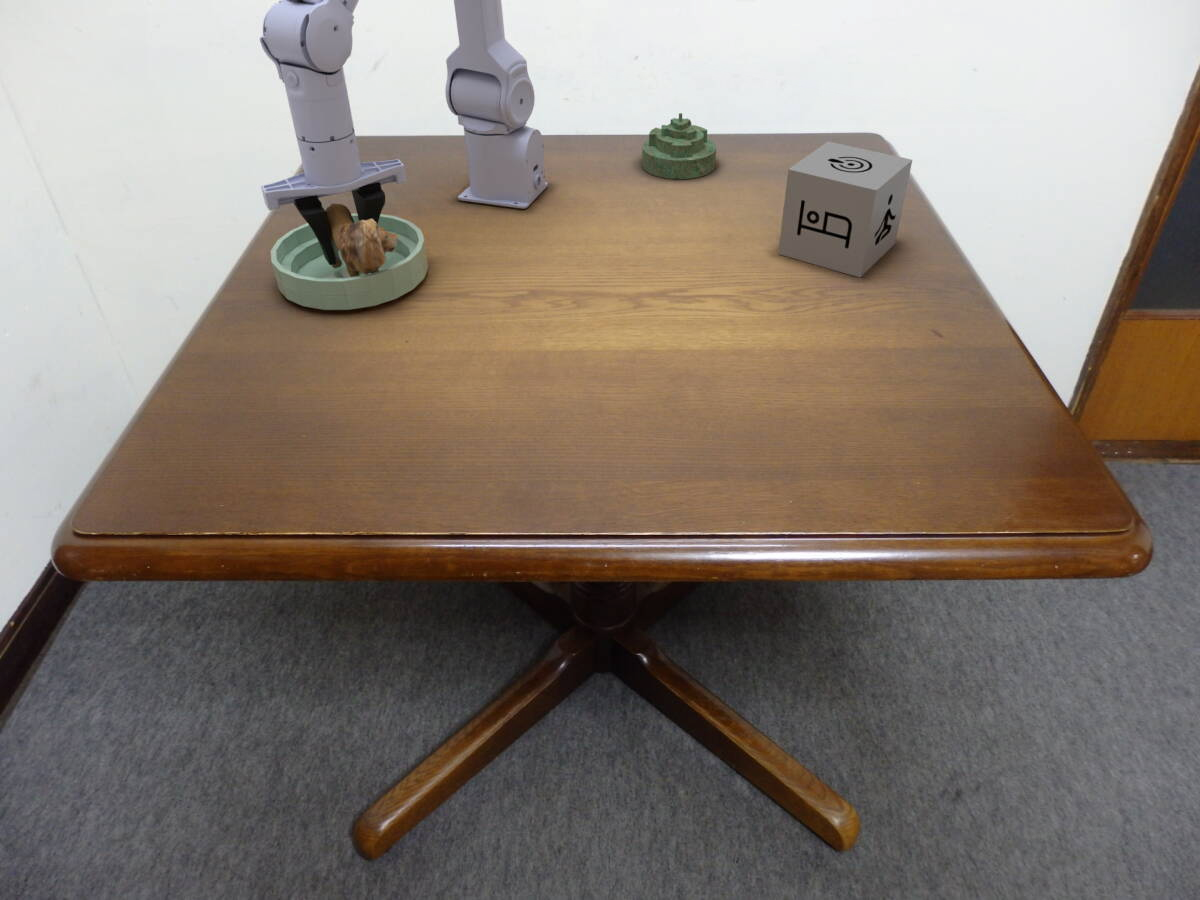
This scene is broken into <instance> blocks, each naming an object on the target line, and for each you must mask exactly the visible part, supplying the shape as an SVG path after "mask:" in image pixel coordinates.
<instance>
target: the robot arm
mask: <svg viewBox="0 0 1200 900" xmlns="http://www.w3.org/2000/svg"><path fill="white" fill-rule="evenodd" d="M359 1H360V0H278V2H274V4H273V5H272V6H270V8H269V10H268V11H267V12H266V14H265V16H264V18H263V22H262V36H260V37H259V42H260V45H261V47H262V50H263V52H264V53H265V55H266V56H267V57H268V58H269V60H271V61H272V62H273V64H274V65H275V68H276V70H277V74H278V78H279V80H281V81H282V83H283V84H284V88H285V92H286V98H287V102H288V107H289V110H290V111H289V112H290V116H291V120H292V124H293V129H294V133H295V137H296V141H297V146H298V151H299V154H300V160H301V164H302V168H303V172H301V173H298V174H295V175H293V176H290V177H287V178H284V179H281V180H278V181H276V182H272V183H268V184H264V185H261V186H260V189H261V193H262V197H263V201H264V204H265V206H266V207H267V209H268V210H269V211H274V210H279V209H280V206H285V205H286V206H287V205H290V204H293V205H294V206H295V208H296V210H297V211H298V213H299V214H300V216H301V217H302V219H304V221H305V222H306V223H308V224H309V226H310V227H311V229H312V230H313V232H314V234H315V235H316V237H317V239H318V241H319V243H320V245H321V248H322V250H323V253H324V256H325V259H326V260H327V262H328V263H329V265H334V264H336V258H335V254H334V251H333V247H332V244H331V240H330V235H329V229H328V222H327V213H326V211H325V210H326V209H324V207H323V203H322V201H321V200H320V198H324V197H329V196H334V195H339V194H343V193H348V192H351V194H352V199H353V203H354V207H355V210H356V213H357V215H358V220H359V221H361V220H368V219H374V221H376V223H377V225H378V221H379V217H380V214H382V212H383V209H384V207H385V205H386V193H385V191H384V189H382V185H389V184H392V183H393V184H394V183H395V184H397V185H399V184H405V183H407V182H408V181H407V173H406V167H405V164H404V163H403V162H402V161H401V160H400V159H399V158H394V159H389V160H380V161H378V160H377V161H363V162H361V158H360V152H359V148H358V143H357V142H358V141H357V137H356V132H355V126H354V120H353V115H352V109H351V104H350V99H349V92H348V87H347V82H346V76H345V70H344V65H345V64H346V62H347V60H348V59H349V58H350V57H351V56H352V50H353V26H354V24H355V21H354V19H355V15H353V14H354V12H355V10H356V7H357V5H358V3H359ZM453 5H454V12H455V20H456V28H457V29H456V30H457V36H458V46H457V47H455V49H454V50H453V51H452V52H451V53H450V54H449V55H448V56H447V58H446V60H445V63H446V71H447V72H446V82H445V88H444V89H445V91H444V92H445V100H446V104H447V107H448V109H449V111H450V112H451V113H452V114H453V115H455V116H456V117H457V122H458V125H460V126H462V127H463V133H464V134H463V135H464V142H465V143H464V145H465V153H466V163H467V170H468V182H469V186H467V188H466V189H464V190H463V191H462V192H461V193H460V194H459V195H458V196H457V199H458V200H459V201H462V202H471V203H476V204H484V205H490V206H491V205H492V206H499V207H506V208H507V207H508V208H514V209H520V210H521V209H523V210H524V209H527V208H529V206H530V205H531V204H532V203H533V202H534V201H535V200H536V199H537V198H538V196H540V194H541V193H542V192H543V191H545V189H546V188H547V187H548V185H549V184H548V182H547V181H546V168H545V149H544V148H545V147H544V139H543V136H542V133H541V130H539V129H537V128H533V127H529V126H527V122H528V120H529V119H530V118H531V115H532V113H533V110H534V107H535V101H536V100H535V96H536V95H535V89H534V86H533V82H532V80H531V78H530V76H529V72H528V63H527V59H526V58H525V57H524V56H523V55H522V54H521V53H520V52H519V51H518V50H517V49H516V48H515V47H513V46H512V44H511V43H509V42H508V40H507V39H506V36H505V35H506V34H505V26H504V14H503V5H502V0H453Z"/></svg>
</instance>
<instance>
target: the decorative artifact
mask: <svg viewBox="0 0 1200 900" xmlns="http://www.w3.org/2000/svg"><path fill="white" fill-rule="evenodd" d="M641 149H642V151H641V153H642V154H641V166H642V168H643V170H644V171H645V172H646V173H648V174H650V175H652V176H655V177H658V178H663V179H668V180H669V179H670V180H692V179H698V178H700V177H704V176H706V175H709V174H710V173H712V172H713V171H714V170H715V168H716V167H715V166H716V157H717V145H716V143H715V142H714V141H712V140H711V139H709V138H708V129H707V128H704V127H702V126H700V125H696V124H692V121H691V119H689V118H683V112H679V113H678V118H676V117H673V118H671V119H670V123H669V124H661V128H659V127H654V128H652V129H651V130H650V131H649V133H648V139H647V140H645V141H644V142H643V144H642V147H641Z"/></svg>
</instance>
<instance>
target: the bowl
mask: <svg viewBox="0 0 1200 900" xmlns="http://www.w3.org/2000/svg"><path fill="white" fill-rule="evenodd" d="M351 215H352V217H353V220H354V223H356V222H358V221H359V220H358V215H357V212H356V213H351ZM378 227H381V228H384V229H385V231H387V232H389V233H393V234H397V235H398V239H397V244H396V246H395V252H393V253H391V252H386V253H385V255H386V261H385V262H384V263H383V265H382V266H381V267H379V271H377V272H374V273H369V274H367V275H366V274H363V273H361V272H359V276H355V277H350V275H349V273H348V271H347V268H346V264H345V262H344V260H343V258H342V256H341V254H340V251H339V256H340V259H341V261H342V266H341V267H339V268H333V267H332V265H329V263H328V262H327V260H326V259H325V256H324V253H323V250H322V248H321V245H320V243H319V241H318V239H317V237H316V235H315V234H314V232H313V230H312V229H311V227H310V226H309V224H308V223H307V222H306V223H304V224H301V225H299V226H298V227H295V228H293V229H291V230H289V231H288V232H287V233H285V234H283V236H281V237H280V238H278V239H277V240H276V242H275V243H274V245H273V247H272V248H271V250H270V262H271V266H272V269H273V274H274V277H275V280H276V281H275V282H276V285H277V288H278V290H279V292H280V293H281V294H282V295H283V296H284V298H286V299H287V300H288V301H290V302H292V303H295V304H297V305H299V306H301V307H304V308H305V307H306V308H312V309H316V310H317V309H318V310H322V311H349V310H350V311H352V310H355V309H356V310H357V309H362V308H363V309H364V308H371V307H375V306H378V305H381V304H385V303H388V302H390V301H393V300H396V299H398V298H400V297H402V296H404V295H405V294H407V293H409V292H411V291H413V290H415V288H416V287H418V285H419V284H420V283H422V281H423V280H424V279H425V278H426V275H427V272H428V270H429V261H428V255H427V248H426V240H425V238H424V234H423V231H422V229H420V228H419V226H417V225H416V224H415V223H413V222H412V221H409V220H407V219H404V218H402V217H399V216H397V215H389V214H383V213H381V214H380V217H379V221H378Z"/></svg>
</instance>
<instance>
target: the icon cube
mask: <svg viewBox="0 0 1200 900" xmlns="http://www.w3.org/2000/svg"><path fill="white" fill-rule="evenodd" d="M912 163H913V159H911V158H906V157H902V156H896V155H892V154H887V153H883V152H878V151H873V150H870V149H865V148H861V147H856V146H852V145H848V144H842V143H838V142H833V141H826V142H825V143H823V144H822V145H821V146H819V147H818V148H816V149H815V150H814V151H812V152H811V153H809V154H808V155H806V156H805V157H803V158H802V159H801V160H800V161H798V162H797V163H794V164H793V165H792V166H791V167H789V168H788V169H787V177H786V186H785V193H784V203H783V210H782V219H781V226H780V227H781V228H780V233H779V234H780V235H779V243H778V251H777V254H778V255H780V256H784V257H786V258H790V259H794V260H798V261H801V262H805V263H808V264H812V265H815V266H818V267H822V268H825V269H829V270H833V271H836V272H839V273H843V274H845V275H846V274H847V275H849V276H853V277H856V278H861V277H863V276H864V275H865V274H866V273H867V272H868V271H869V270H870V269H871V268H872V267H873V266H874V265H875V264H876V263H877V262H879V260H880V259H881V258H882V257H883V256H884V255H885V254H886V253H888V251H890V250H891V248H893V246H894V245H895V244H896V240H897V236H898V232H899V226H900V221H901V217H902V211H903V207H904V203H905V197H906V194H907V189H908V183H909V178H910V175H911V170H912Z"/></svg>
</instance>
